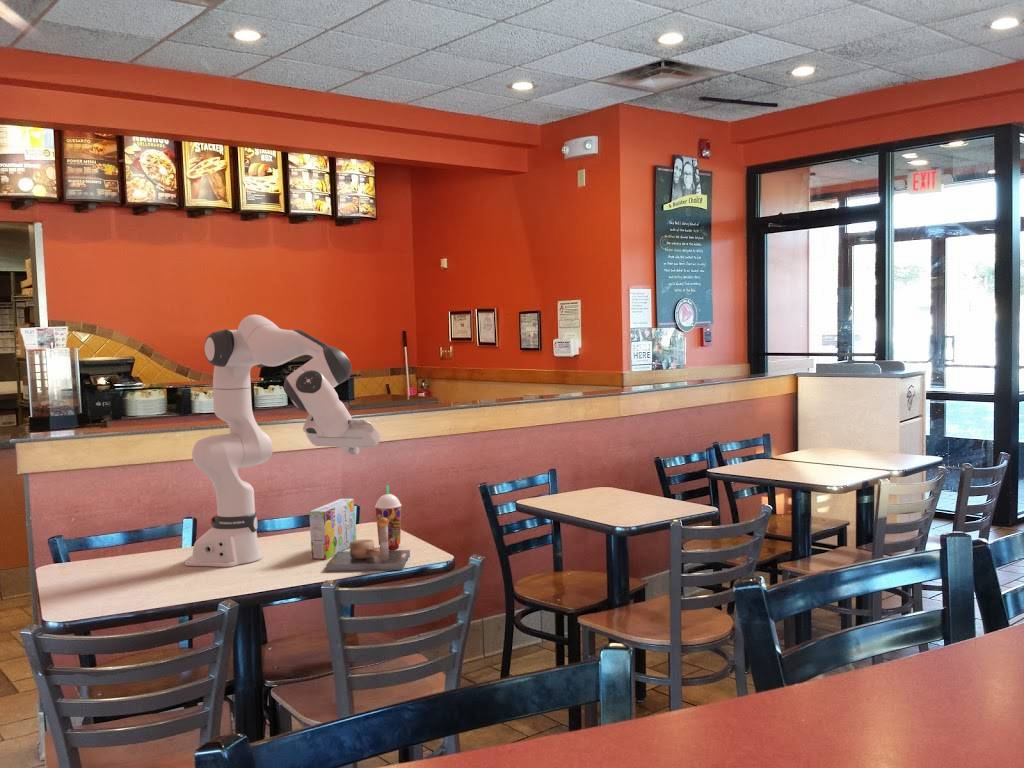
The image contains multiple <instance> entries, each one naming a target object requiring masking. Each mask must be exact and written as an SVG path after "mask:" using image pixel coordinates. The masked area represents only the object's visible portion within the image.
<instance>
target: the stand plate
mask: <svg viewBox="0 0 1024 768" xmlns="http://www.w3.org/2000/svg"><path fill="white" fill-rule="evenodd" d="M410 557H411V552H410V549H397V550H396V549H393V550H389V559H386V560H381V559H380V557H378V556H372V557H369V558H361V559H358V558H351V557H350V550H348V551H345V550H343V551H341V552H337V553H336V554H335V555H334V556H332V557H331V559H330V560H329V561H328V562H327V563H326V564H325V567H326V572H329V573H330V572H362V571H364V572H367V571H368V572H370V571H371V572H372V571H403V570H404V568H405V566H406V565H405V564H407V563H406V562H408V561H409V559H410ZM408 558H409V559H408Z"/></svg>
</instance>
